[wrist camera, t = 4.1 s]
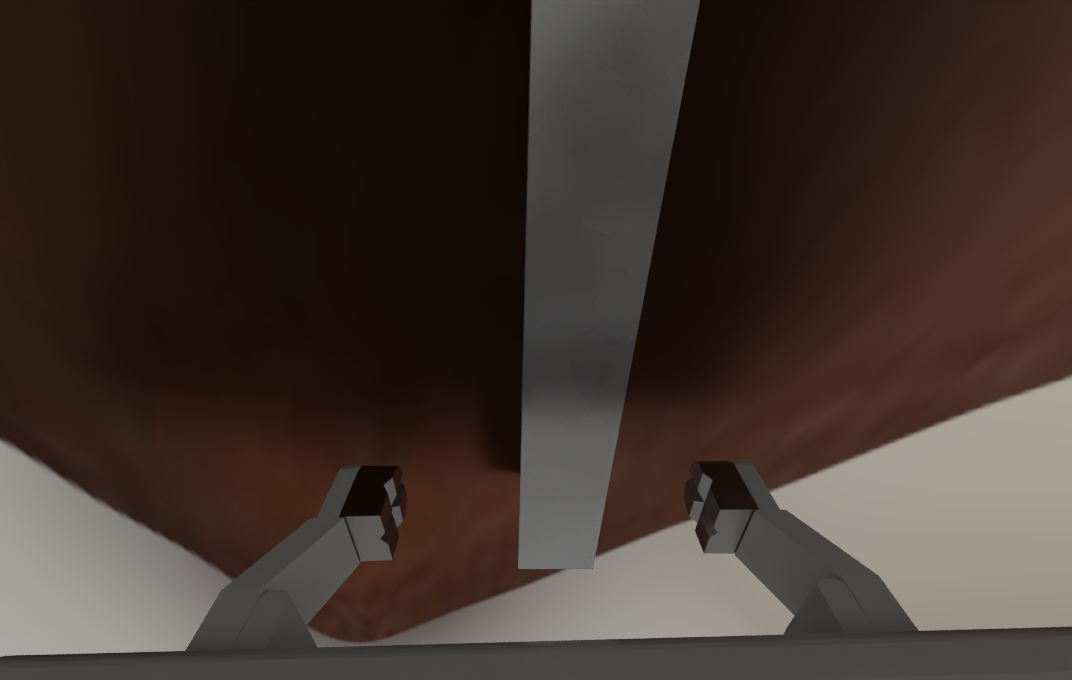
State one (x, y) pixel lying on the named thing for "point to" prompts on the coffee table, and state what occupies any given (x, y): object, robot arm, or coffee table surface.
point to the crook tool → (589, 247)
